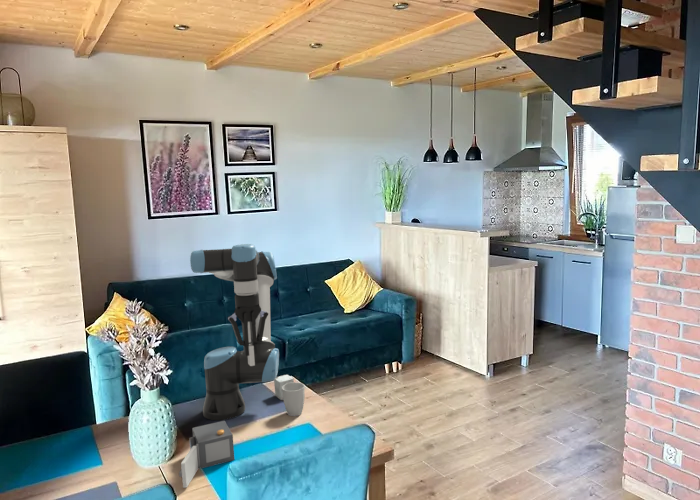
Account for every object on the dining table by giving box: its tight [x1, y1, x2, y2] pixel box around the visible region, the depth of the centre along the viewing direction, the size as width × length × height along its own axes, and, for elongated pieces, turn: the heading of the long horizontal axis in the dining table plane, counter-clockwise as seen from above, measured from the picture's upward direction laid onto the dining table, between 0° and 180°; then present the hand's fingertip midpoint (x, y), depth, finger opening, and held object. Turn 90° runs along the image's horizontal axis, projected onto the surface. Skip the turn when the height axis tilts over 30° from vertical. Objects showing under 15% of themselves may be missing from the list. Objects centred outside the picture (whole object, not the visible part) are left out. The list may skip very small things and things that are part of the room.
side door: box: [178, 444, 201, 488], centre depth 146 cm, size 2×11×7 cm, turn 178°
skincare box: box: [273, 374, 295, 401], centre depth 203 cm, size 6×6×7 cm
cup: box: [282, 381, 306, 417], centre depth 187 cm, size 8×8×10 cm
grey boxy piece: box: [188, 420, 235, 470], centre depth 158 cm, size 11×12×9 cm
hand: (251, 364), depth 168 cm, fingers closed
